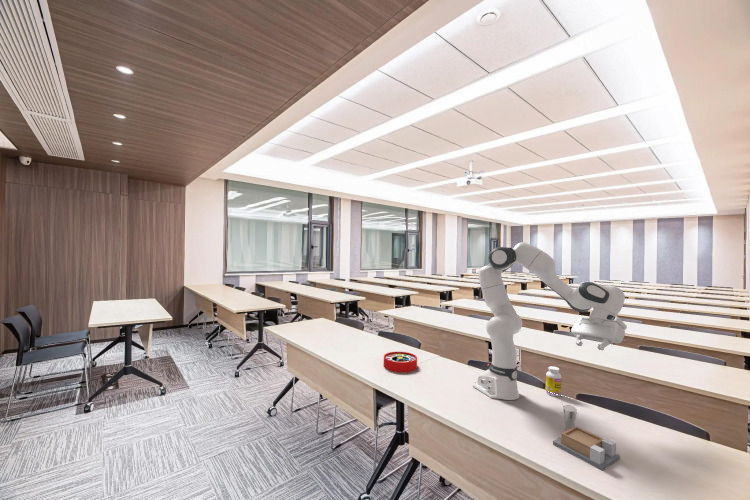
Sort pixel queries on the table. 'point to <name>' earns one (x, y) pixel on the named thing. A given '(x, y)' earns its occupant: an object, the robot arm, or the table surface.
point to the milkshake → (569, 416)
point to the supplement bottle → (553, 381)
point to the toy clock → (400, 361)
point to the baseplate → (588, 447)
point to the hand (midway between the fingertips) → (588, 347)
